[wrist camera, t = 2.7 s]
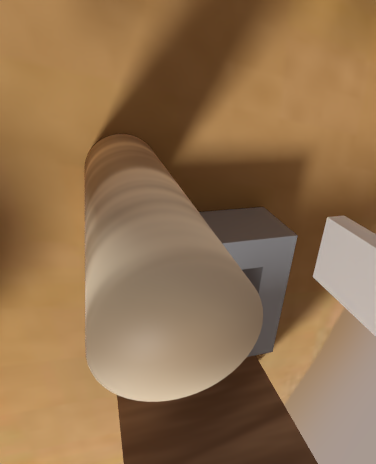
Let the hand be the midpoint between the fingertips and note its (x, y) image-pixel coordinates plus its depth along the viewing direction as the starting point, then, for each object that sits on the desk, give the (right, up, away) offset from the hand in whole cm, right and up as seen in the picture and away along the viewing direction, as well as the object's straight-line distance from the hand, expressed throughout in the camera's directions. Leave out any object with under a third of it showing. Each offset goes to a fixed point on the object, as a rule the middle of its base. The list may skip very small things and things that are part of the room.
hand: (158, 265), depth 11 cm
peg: (-3, +5, +8) cm, 10 cm away
